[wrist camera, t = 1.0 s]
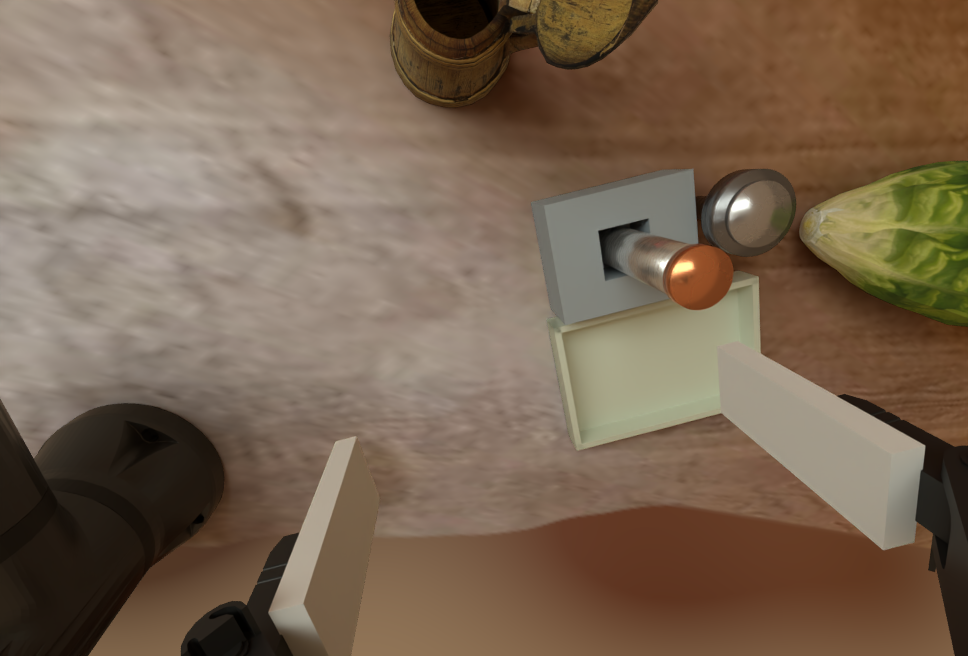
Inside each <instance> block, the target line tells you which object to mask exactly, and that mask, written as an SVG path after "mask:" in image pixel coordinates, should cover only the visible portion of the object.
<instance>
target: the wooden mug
mask: <svg viewBox="0 0 968 656" xmlns="http://www.w3.org/2000/svg"><path fill="white" fill-rule="evenodd" d="M394 1H395V11H394V14H393V19H392V25H391V31H390V46H391V55H392V58H393V62H394V65H395V69H396V71H397V73H398V74H399V76H400V78H401V79H402V81H403V83H404V84H405V86H406V87H407V88H408V89H409V90H410V91H411V92H412V93H413V94H414V95H415V96H416V97H418V98H420V99H422V100H424V101H425V102H427V103H429V104H434V105H438V106H442V107H460V106H465V105H470V104H472V103H474V102H476V101H478V100H479V99H481V98H483V97H485V96H486V95H487V94H488V93H489V92H490V90H491V89H492V88H493V87H494V86H495V85H496V83H497V82H498V81H499V79H500V78H501V76H502V75H503V73H504V71H505V70H506V68H507V65H508V62H509V59H510V54H512V53H513V52H517V51H520V50H524V49H529V48H534V47H539V49H540V51H541V53H542V54H543V56H544V58H545V60H546V62H547V63H549V64H551V65H553V66H556V67H559V68H563V69H579V68H584V67H588V66H590V65H592V64H594V63H596V62H598V61H600V60H602V59H603V58H604V57H606V56H607V55H608V54H610V53H611V52H612V51H613V50H615V49H616V48H617V47H618V46H619V45H620V44H622V43H623V42H624V41H625V40H626V39H627V38H629V37H630V36H631V35H632V34H633V32H634V31H635V30H636V29H637V28H638V26H639V25H640V24H641V23H642V21H643V20H644V19H645V18H646V17H647V15H648V14H649V13H650V12H651V11H652V9H653V8H654V7H655V6H656V5H657V4H658V0H394Z"/></svg>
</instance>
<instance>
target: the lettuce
mask: <svg viewBox="0 0 968 656" xmlns="http://www.w3.org/2000/svg"><path fill="white" fill-rule="evenodd" d="M799 235H800V238H801V240H802V241H803V242H804V244H805V245H806V246H807V247H808V248H809V249H810V250H811V251H812V252H813V253H814V254H815V255H816V256H817V257H818V258H819V259H821V260H822V261H824V262H825V263H827V264H828V265H830V266H831V267H833V268H834V269H836V270H837V271H838V272H839V273H841V274H842V275H843V276H844V277H845V278H846V279H847V280H848V281H849V282H851V283H852V284H854V285H855V286H857V287H858V288H860V289H862V290H863V291H865V292H866V293H868V294H870V295H873V296H875V297H877V298H879V299H881V300H884V301H886V302H888V303H891V304H893V305H895V306H898V307H900V308H903V309H907V310H910V311H913V312H916V313H919V314H921V315H923V316H926V317H928V318H931V319H934V320H936V321H939V322H942V323H944V324H947V325H955V326H966V327H968V161H949V162H937V163H932V164H927V165H923V166H918V167H914V168H911V169H907V170H904V171H901V172H898V173H894V174H891V175H889V176H887V177H884V178H882V179H880V180H878V181H876V182H873V183H871V184H869V185H866V186H863V187H860V188H857V189H854V190H851V191H848V192H845V193H842V194H839V195H837V196H835V197H833V198H831V199H829V200H827V201H825V202H822V203H820V204H819V205H817V206H815V207H813V208H811V209H810V210H809V211H808V212H807V213H806V214H805V215H804V217H803V219H802V221H801V224H800V229H799Z"/></svg>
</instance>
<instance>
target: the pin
mask: <svg viewBox="0 0 968 656" xmlns="http://www.w3.org/2000/svg"><path fill="white" fill-rule="evenodd" d="M598 234H599V241H600V248H601V255H602V262H603V263H605V264H607V265H609V266H611V267H613V268H615V269H617V270H619V271H621V272H623V273H625V274H627V275H629V276H631V277H633V278H635V279H637V280H639V281H641V282H643V283H645V284H647V285H649V286H651V287H653V288H655V289H657V290H659V291H661V292H663V293H665V294H666V295H667V296H668V297H669V298H670V299H671V300H672V301H673V302H675V303H677V304H679V305H681V306H683V307H685V308H687V309H690V310H703V309H707V308H710V307H712V306H714V305H715V304H717V303H718V302H719V301H720V300H721V299H722V298H723V297H724V296H725V295H726V294H727V292H728V290H729V289H730V286H731V284H732V280H733V265H732V262H731V259H730V258H729V256H728V255H727V254H726V253H725V252H724V251H723V250H721V249H719V248H717V247H713V246H709V245H705V244H687V243H684V242H680V241H676V240H672V239H668V238H664V237H661V236H657V235H653V234H649V233H645V232H642V231H638V230H634V229H630V228H626V227H623V226H615V227H611V228H607V229H603V230H599V231H598Z"/></svg>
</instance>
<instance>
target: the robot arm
mask: <svg viewBox="0 0 968 656" xmlns="http://www.w3.org/2000/svg"><path fill="white" fill-rule="evenodd" d="M717 356H718V372H719V389H720V405H721V413H722V414H723V415H724V416H725V417H727V418H728V419H729V420H730V421H731V422H733V423H734V424H735V425H736V426H737V427H738V428H740V429H741V430H742V431H743V432H744V433H746V434H747V435H748V436H749V437H750V438H751V439H753V440H754V441H755V442H756V443H757V444H759V445H760V446H761V447H762V448H763V449H764V450H766V451H767V452H768V453H769V454H770V455H772V456H773V457H774V458H775V459H776V460H777V461H779V462H780V463H781V464H782V465H783V466H785V467H786V468H787V469H788V470H789V471H790V472H792V473H793V474H794V475H795V476H796V477H798V478H799V479H800V480H801V481H802V482H803V483H805V484H806V485H807V486H808V487H809V488H810V489H812V490H813V491H814V492H815V493H816V494H818V495H819V496H820V497H821V498H822V499H823V500H825V501H826V502H827V503H828V504H829V505H831V506H832V507H833V508H834V509H835V510H836V511H838V512H839V513H840V514H841V515H842V516H844V517H845V518H846V519H847V520H848V521H849V522H851V523H852V524H853V525H854V526H855V527H857V528H858V529H859V530H860V531H861V532H862V533H864V534H865V535H866V536H867V537H868V538H870V539H871V540H872V541H873V542H874V543H876V544H877V545H878V546H879V547H880V548H881V549H883V550H886V549H890V548H893V547H898V546H902V545H906V544H909V543H913V542H914V541H915V532H916V523H917V522H918V523H919V524H921V525H922V526H924V527H925V528H926V529H928V530H929V531H930V532H932V533H933V539H932V546H931V554H930V561H929V569H928V570H930V571H933V572H935V570H936V569H937V574H938V578H939V583H940V588H941V593H942V597H943V602H944V607H945V612H946V616H947V621H948V626H949V631H950V635H951V640H952V645H953V650H954V654H955V656H968V446H957V447H954V446H952V445H950V444H948V443H946V442H945V441H943V440H941V439H939V438H937V437H935V436H933V435H931V434H929V433H927V432H926V431H924V430H922V429H920V428H918V427H916V426H914V425H912V424H910V423H909V422H907V421H905V420H900V418H899V417H897V416H895V415H893V414H892V413H890V412H887V413H886V411H885V410H884V409H882V408H880V407H878V406H876V405H874V404H873V403H871V402H869V401H867V400H863V399H860V398H856V397H853V396H850V395H846V394H843V395H839V396H835V395H834V394H832V393H830V392H828V391H826V390H825V389H823V388H821V387H819V386H818V385H816V384H814V383H812V382H810V381H809V380H807V379H805V378H803V377H801V376H800V375H798V374H796V373H794V372H792V371H791V370H789V369H787V368H785V367H783V366H782V365H780V364H778V363H776V362H774V361H773V360H771V359H769V358H767V357H766V356H764V355H762V354H760V353H758V352H757V351H755V350H753V349H751V348H749V347H748V346H746V345H744V344H742V343H740V342H739V341H736V342H732V343H728V344H724V345H720V346H717ZM223 488H224V472H223V467H222V464H221V461H220V458H219V456H218V454H217V452H216V450H215V449H214V447H213V446H212V444H211V443H210V442H209V440H208V439H207V438H206V437H205V436H204V435H203V434H202V433H201V432H200V431H199V430H198V429H196V428H195V427H194V426H193V425H191V424H190V423H188V422H187V421H185V420H184V419H182V418H180V417H178V416H176V415H174V414H172V413H170V412H167V411H164V410H162V409H158V408H155V407H151V406H146V405H139V404H112V405H106V406H101V407H98V408H94V409H92V410H89V411H87V412H85V413H83V414H81V415H79V416H78V417H76V418H75V419H73V420H72V421H70V422H69V423H67V424H66V425H64V426H63V427H61V428H60V429H59V430H57V431H56V432H55V433H54V434H53V435H52V436H51V437H50V438H49V439H48V440H47V441H46V442H45V443H44V444H43V446H42V447H41V449H40V450H39V452H38V454H37V455H36V457H35V458H33V457H32V455H31V453H30V451H29V449H28V448H27V446H26V444H25V442H24V440H23V439H22V437H21V435H20V433H19V432H18V430H17V428H16V426H15V424H14V423H13V421H12V419H11V417H10V415H9V414H8V412H7V410H6V408H5V406H4V405H3V403H2V401H1V399H0V656H88V655H89V654H90V652H91V651H92V649H93V648H94V646H95V645H96V644H97V642H98V641H99V639H100V638H101V636H102V635H103V633H104V632H105V631H106V629H107V628H108V626H109V625H110V624H111V622H112V621H113V619H114V618H115V616H116V615H117V614H118V612H119V611H120V609H121V608H122V606H123V605H124V604H125V602H126V601H127V599H128V598H129V596H130V595H131V594H132V592H133V591H134V589H135V588H136V586H137V585H138V583H139V582H140V581H141V579H142V578H143V577H144V575H145V574H146V572H147V571H148V570H149V568H150V567H152V566H153V565H155V564H156V563H157V562H159V561H160V560H161V559H163V558H164V557H165V556H167V555H168V554H169V553H171V552H172V551H173V550H175V549H176V548H178V547H179V546H180V545H182V544H183V543H184V542H186V541H187V540H188V539H190V538H191V537H192V536H194V535H195V534H196V533H197V532H198V531H199V530H200V529H201V528H202V527H203V526H204V524H205V523H206V522H207V520H208V519H209V517H210V516H211V514H212V513H213V511H214V510H215V508H216V507H217V505H218V503H219V501H220V499H221V496H222V493H223ZM379 502H380V497H379V494H378V491H377V489H376V486H375V483H374V481H373V478H372V475H371V473H370V470H369V467H368V465H367V462H366V459H365V457H364V454H363V451H362V449H361V446H360V443H359V441H358V438H357V436H355V437H351V438H347V439H343V440H339V441H336V442H335V444H334V447H333V449H332V452H331V454H330V457H329V459H328V462H327V464H326V467H325V469H324V472H323V475H322V477H321V480H320V482H319V485H318V487H317V490H316V492H315V495H314V497H313V500H312V503H311V505H310V508H309V510H308V513H307V515H306V518H305V520H304V523H303V525H302V528H301V530H300V533H296V534H292V535H288V536H284V537H283V538H282V539H281V541H280V542H279V543H278V544H277V545H276V546H275V548H274V549H273V550H272V551H271V552H270V555H269V557H268V559H267V561H266V564H265V566H264V568H263V572H261V575H260V577H259V579H258V581H257V585H256V586H255V588H254V590H253V592H252V595H251V597H250V599H249V601H248V603H247V605H245V604H244V603H243V602H241V601H231V602H228V603H225V604H222V605H219V606H218V607H216V608H214V609H213V610H211V611H209V612H208V613H206V614H205V615H204V616H203V617H202V618H201V619H199V620H198V621H197V622H196V623H195V624H194V626H193V627H192V628H191V629H190V631H189V632H188V633H187V635H186V636H185V639H184V641H183V643H182V645H181V656H351V652H352V647H353V642H354V636H355V631H356V626H357V620H358V615H359V609H360V604H361V599H362V593H363V588H364V583H365V576H366V572H367V566H368V561H369V555H370V550H371V545H372V540H373V534H374V529H375V523H376V518H377V513H378V507H379Z"/></svg>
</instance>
